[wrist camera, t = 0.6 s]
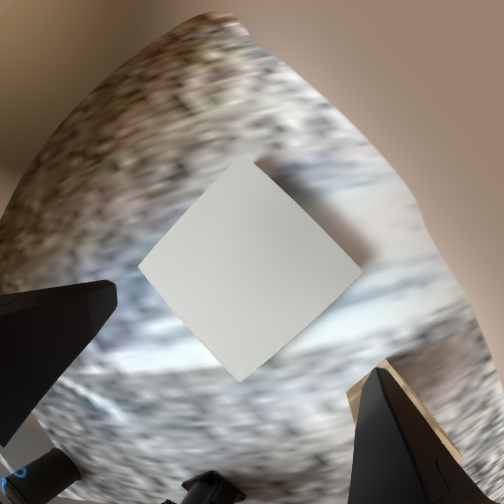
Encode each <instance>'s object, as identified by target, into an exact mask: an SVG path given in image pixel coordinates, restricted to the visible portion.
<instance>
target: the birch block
mask: <svg viewBox="0 0 504 504" xmlns="http://www.w3.org/2000/svg"><path fill="white" fill-rule="evenodd" d="M376 367H380V368H385V369H387V370H388V371H389V372H390V373H391V375H392V376H393V377H394V378H395V380H396V381H397V382H398V384H399V385H400V386H401V387H402V389H403V390H404V391H405V393H406V394H407V395H408V397H409V398H410V399H411V401H412V402H413V403H414V405H415V406H416V407H417V408H418V410H419V411H420V412H421V414H422V415H423V416H424V418H425V419H426V421H427V422H428V423H429V425H430V426H431V427H432V429H433V430H434V431H435V433H436V434H437V435H438V437H439V438H440V440H441V441H442V443H443V444H444V445H445V446H446V448H447V449H448V451H449V452H450V453H451V455H452V456H453V457H454V459H455V460H456V461H457V463H458V464H460V463H461V462H462V461H463V460H464V458H463V456H462V455H461V454H460V452H459V451H458V449H457V448H456V447H455V445H454V444H453V442H452V441H451V440H450V438H449V437H448V436H447V434H446V433H445V431H444V430H443V429H442V427H441V426H440V425H439V423H438V422H437V421H436V419H435V418H434V417H433V415H432V414H431V413H430V411H429V410H428V409H427V408H426V406H425V405H424V404H423V402H422V401H421V400H420V398H419V397H418V396H417V395H416V393H415V392H414V391H413V389H412V388H411V387H410V386H409V385H408V383H407V382H406V381H405V380H404V379H403V378H402V377H401V376H400V374H399V373H398V372H397V371H396V370H395V369H394V368H393V367H392V366H391V364H390V363H389V362H388V361H387V360H386V359H384V360H383V361H382V362H381V363H380V364H379V365H378V366H376ZM370 373H371V372H370ZM370 373H369V374H367V375H366V376H365V377H364V378H363V379H362V380H360V381H359V382H358V383H357V384H356V385H354V386H353V387H352V388H351V389H350V390H348V391H347V392H346V393H347V397H348V401H349V404H350V408H351V412H352V415H353V419H354V423H355V427H356V423H357V417H358V411H359V404H360V398H361V391H362V387H363V385H364V383H365V381H366V380H367V378H368V376H369V375H370Z"/></svg>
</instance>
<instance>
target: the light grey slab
mask: <svg viewBox="0 0 504 504" xmlns="http://www.w3.org/2000/svg"><path fill="white" fill-rule="evenodd" d="M138 267H139V269H140V270H141V271H142V273H143V274H144V275H145V276H146V278H147V279H148V280H149V282H150V283H151V284H152V285H153V287H154V288H155V289H156V290H157V292H158V293H159V294H160V295H161V297H162V298H163V299H164V300H165V301H166V303H167V304H168V305H169V306H170V307H171V309H172V310H173V311H174V312H175V313H176V314H177V316H178V317H179V318H180V319H181V320H182V321H183V323H184V324H185V325H186V326H187V327H188V328H189V329H190V331H191V332H192V333H193V334H194V335H195V336H196V337H197V338H198V339H199V341H200V342H201V343H202V344H203V345H204V346H205V347H206V348H207V349H208V350H209V351H210V352H211V354H212V355H213V356H214V357H215V358H216V359H217V360H218V361H219V362H220V363H221V364H222V365H223V366H224V367H225V368H226V369H227V370H228V371H229V372H230V373H231V374H232V375H233V376H234V377H235V378H236V379H237V380H238V381H239V382H241V381H242V380H243V379H245V378H246V377H247V376H248V375H250V374H251V373H252V372H253V371H255V370H256V369H257V368H258V367H260V366H261V365H262V364H263V363H265V362H266V361H267V360H268V359H270V358H271V357H272V356H273V355H274V354H276V353H277V352H278V351H279V350H280V349H281V348H283V347H284V346H285V345H286V344H287V343H288V342H290V341H291V340H292V339H293V338H294V337H295V336H296V335H298V334H299V333H300V332H301V331H302V330H303V329H304V328H305V327H307V326H308V325H309V324H310V323H311V322H312V321H313V320H314V319H315V318H316V317H318V316H319V315H320V314H321V313H322V312H323V311H324V310H325V309H326V308H327V307H328V306H329V305H330V304H331V303H332V302H333V301H334V300H336V299H337V298H338V297H339V296H340V295H341V294H342V293H343V292H344V291H345V290H346V289H347V288H348V287H349V286H350V285H351V284H352V283H353V282H354V281H355V280H356V279H357V278H358V277H359V276H360V275H361V274H362V273H363V271H362V270H361V269H360V268H359V266H358V265H357V264H356V263H355V262H354V261H353V260H352V259H351V258H350V257H349V256H348V255H347V254H346V253H345V252H344V250H343V249H342V248H341V247H340V246H339V245H338V244H337V243H336V242H335V241H334V240H333V239H332V238H331V237H330V236H329V235H328V234H327V233H326V232H325V231H324V230H323V229H322V228H321V227H320V226H319V225H318V224H317V223H316V222H315V221H314V220H313V219H312V218H311V217H310V216H309V215H308V214H307V213H306V212H305V211H304V210H303V209H302V208H301V207H300V206H299V205H298V204H297V203H296V202H295V201H294V200H293V199H292V198H291V197H290V196H289V195H288V194H287V193H286V192H284V191H283V190H282V189H281V188H280V187H279V186H278V185H277V184H276V183H275V182H274V181H273V180H272V179H271V178H270V177H268V176H267V175H266V174H265V173H264V172H263V171H262V170H261V169H260V168H259V167H257V166H256V165H255V164H254V163H253V162H252V161H251V160H250V159H249V158H247V157H246V156H245V155H244V154H242V155H241V156H240V157H239V158H238V159H237V160H236V161H235V162H234V163H233V164H232V165H231V166H230V167H229V168H228V169H227V170H226V171H225V172H224V173H223V174H222V175H221V176H220V177H219V178H218V179H217V180H216V181H215V182H214V183H213V184H212V185H211V186H210V187H209V188H208V189H207V190H206V191H205V192H204V193H203V194H202V195H201V196H200V197H199V198H198V199H197V200H196V202H195V203H194V204H193V205H192V206H191V207H190V208H189V209H188V210H187V211H186V212H185V213H184V214H183V215H182V217H181V218H180V219H179V220H178V221H177V222H176V223H175V224H174V225H173V226H172V228H171V229H170V230H169V231H168V232H167V233H166V234H165V235H164V237H163V238H162V239H161V240H160V241H159V242H158V243H157V245H156V246H155V247H154V248H153V249H152V250H151V252H150V253H149V254H148V255H147V256H146V257H145V259H144V260H143V261H142V262H141V263H140V265H139V266H138Z"/></svg>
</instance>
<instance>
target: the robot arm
mask: <svg viewBox="0 0 504 504" xmlns="http://www.w3.org/2000/svg"><path fill="white" fill-rule="evenodd" d="M117 303H118V302H117V288H116V285H115V283H113V282H111V281H109V280H100V281H93V282H87V283H80V284H73V285H67V286H60V287H53V288H46V289H40V290H33V291H26V292H19V293H12V294H4V295H0V445H1V446H2V447H5V446H6V445H7V443H8V442H9V441H10V439H11V437H12V436H13V435H14V434H15V432H16V431H17V430H18V428H19V427H20V426H21V425H22V423H23V422H24V421H25V419H26V418H27V417H28V415H29V414H30V413H31V411H32V410H33V409H34V408H35V406H36V405H37V404H38V403H39V401H40V400H41V399H42V398H43V396H44V395H45V394H46V393H47V392H48V390H49V389H50V388H51V387H52V385H53V384H54V383H55V382H56V381H57V380H58V378H59V377H60V376H61V375H62V374H63V372H64V371H65V370H66V369H67V368H68V367H69V365H70V364H71V363H72V362H73V361H74V360H75V359H76V357H77V356H78V355H79V354H80V353H81V352H82V351H83V350H84V348H85V347H86V346H87V345H88V344H89V343H90V342H91V341H92V339H93V338H94V337H95V336H96V335H97V333H98V332H99V331H100V329H101V328H102V326H103V325H104V324H105V322H106V321H107V320H108V318H109V317H110V316H111V314H112V313H113V312H114V311H115V309H116V307H117ZM182 487H183V488H185V489H186V490H187V491H188V493H187V494H186V496H185V498H184V499H183V501H182V502H181V504H235V503H238V502H240V501H243V500H245V499H246V495H244V494H243V493H241V492H240V491H238V490H237V489H236V488H234V487H233V486H231V485H230V484H229V483H227V482H226V481H225V480H223V479H222V478H221V477H219V476H218V475H217V474H215V473H214V472H212V471H209V472H206V473H204V474H202V475H200V476H197V477H195V478H193V479H190V480H188V481H185V482H183V483H182ZM0 504H12V503H11V502H10V501H9V500H8V499H7V498H6V497H5V495H4V494H3V493H2V492H1V491H0ZM161 504H176V503H174V502H172V501H171V500H168V499H167V500H166V501H165V502H163V503H161ZM348 504H500V503H497V502H494V501H492V500H490V499H489V498H488V497H487V496H486V495H485V494H484V493H483V492H482V491H481V490H480V489H479V487H478V486H477V485H476V484H475V483H474V482H473V480H472V479H471V478H470V477H469V476H468V475H467V473H466V472H465V471H464V470H463V469H462V467H461V466H460V465H459V464H458V463H457V461H456V460H455V459H454V457H453V456H452V455H451V453H450V452H449V451H448V449H447V448H446V446H445V445H444V444H443V443H442V441H441V440H440V438H439V437H438V435H437V434H436V433H435V431H434V430H433V429H432V427H431V426H430V425H429V423H428V422H427V421H426V419H425V418H424V416H423V415H422V414H421V412H420V411H419V410H418V408H417V407H416V406H415V405H414V403H413V402H412V401H411V399H410V398H409V397H408V395H407V394H406V393H405V391H404V390H403V389H402V387H401V386H400V385H399V384H398V382H397V381H396V380H395V378H394V377H393V376H392V375H391V373H390V372H389V371H388V370H387V369H385V368H380V367H375V368H374V369H373V370H372V371H371V373H370V375H369V376H368V378H367V380H366V381H365V383H364V385H363V387H362V391H361V398H360V404H359V411H358V417H357V423H356V429H355V440H354V453H353V464H352V474H351V482H350V490H349V497H348Z"/></svg>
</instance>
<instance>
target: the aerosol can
mask: <svg viewBox="0 0 504 504" xmlns="http://www.w3.org/2000/svg"><path fill="white" fill-rule="evenodd" d="M80 478H81V477H80V473H79V471H78V469H77V467H76V466H75V465H74V463H73V462H72V461H71V460H70V459H69V458H68V457H67V456H66V455H65V454H64V453H63V452H62V451H60V450H59V449H56V448H52V449H51V451H49V452H48V453H46V454H45V455H43V456H41V457H40V458H38V459H36V460H35V461H33V462H32V463H30V464H28V465H26V466H25V467H23V468H21V469H20V470H18V471H16V472H14V473H13V474H11V475H9V476H7V477H6V478H2V480H3V481H2V487H3V490H4V492H5V494H6V498H7V499H8V500H9V501H10V502H11V503H12V504H46V503H48V502H49V501H50V500H52V499H53V498H54V497H56V496H57V495H58V494H60V493H61V492H62V491H64V490H65V489H66V488H67V487H69V486H70V485H71V484H73V483H74V482H75V481H76V480H80Z"/></svg>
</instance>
